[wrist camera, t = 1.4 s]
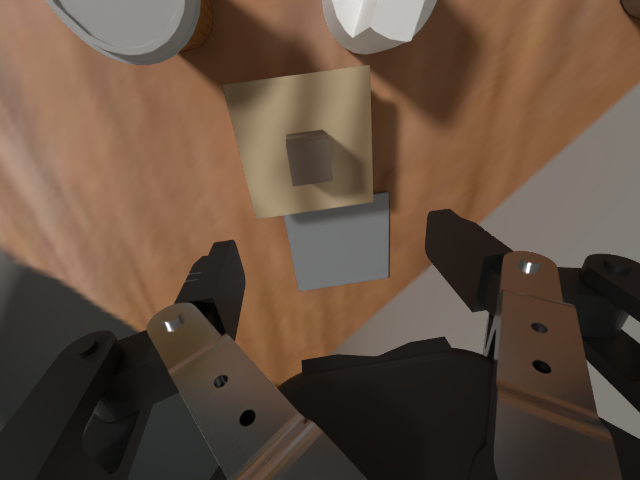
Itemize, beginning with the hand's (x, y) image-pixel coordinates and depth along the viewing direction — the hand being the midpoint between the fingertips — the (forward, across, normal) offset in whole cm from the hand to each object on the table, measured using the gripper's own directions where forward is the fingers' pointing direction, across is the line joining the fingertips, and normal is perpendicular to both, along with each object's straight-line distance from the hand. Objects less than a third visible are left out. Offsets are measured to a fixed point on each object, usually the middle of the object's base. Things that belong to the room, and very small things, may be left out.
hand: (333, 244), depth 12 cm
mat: (+25, -3, +15) cm, 29 cm away
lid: (+20, 0, 0) cm, 20 cm away
